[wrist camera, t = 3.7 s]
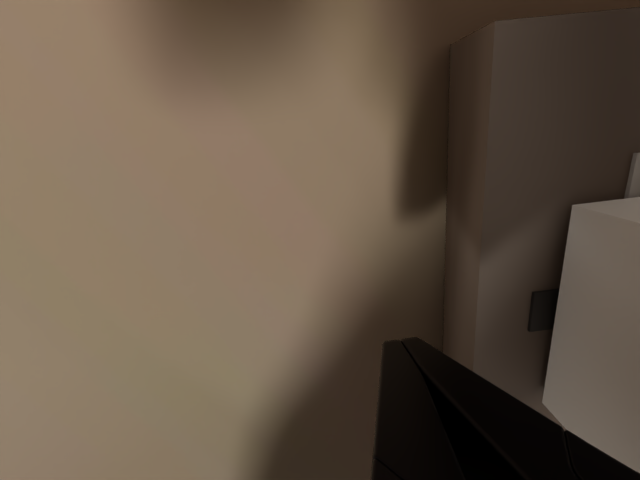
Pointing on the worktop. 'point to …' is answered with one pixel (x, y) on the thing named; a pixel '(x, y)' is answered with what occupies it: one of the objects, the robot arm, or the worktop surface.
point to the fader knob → (599, 330)
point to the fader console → (530, 177)
